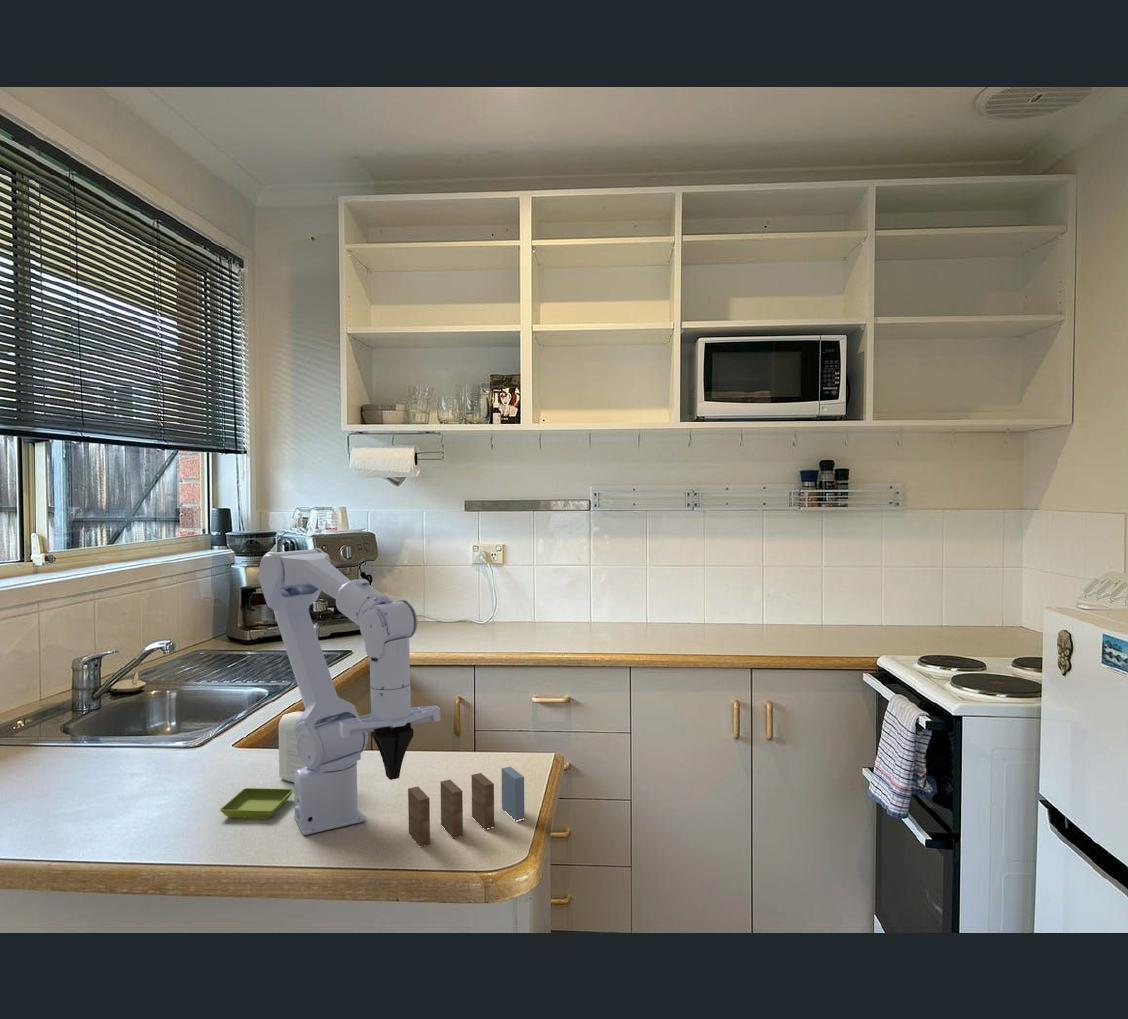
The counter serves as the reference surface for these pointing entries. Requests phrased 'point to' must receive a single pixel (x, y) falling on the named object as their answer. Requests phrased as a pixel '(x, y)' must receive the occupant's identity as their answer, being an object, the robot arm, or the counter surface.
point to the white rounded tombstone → (289, 747)
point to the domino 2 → (451, 808)
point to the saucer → (256, 802)
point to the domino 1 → (419, 816)
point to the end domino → (513, 793)
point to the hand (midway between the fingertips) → (392, 776)
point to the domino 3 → (483, 800)
